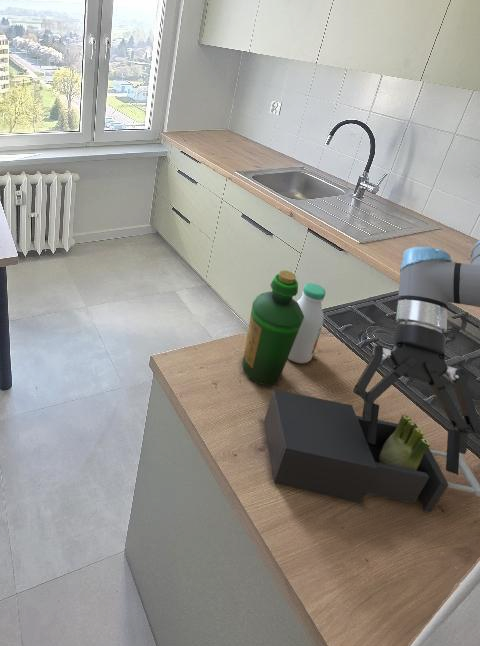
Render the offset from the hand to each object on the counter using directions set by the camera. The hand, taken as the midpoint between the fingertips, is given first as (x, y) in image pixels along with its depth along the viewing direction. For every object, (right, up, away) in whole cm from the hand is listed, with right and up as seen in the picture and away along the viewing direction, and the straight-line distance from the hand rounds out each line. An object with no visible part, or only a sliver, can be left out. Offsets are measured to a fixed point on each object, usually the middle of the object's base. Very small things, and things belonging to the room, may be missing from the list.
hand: (409, 457), depth 71 cm
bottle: (-14, +2, +29) cm, 32 cm away
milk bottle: (-3, +4, +35) cm, 35 cm away
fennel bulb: (+1, -7, +6) cm, 9 cm away
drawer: (+3, -8, +6) cm, 10 cm away
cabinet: (-13, -6, +10) cm, 17 cm away
